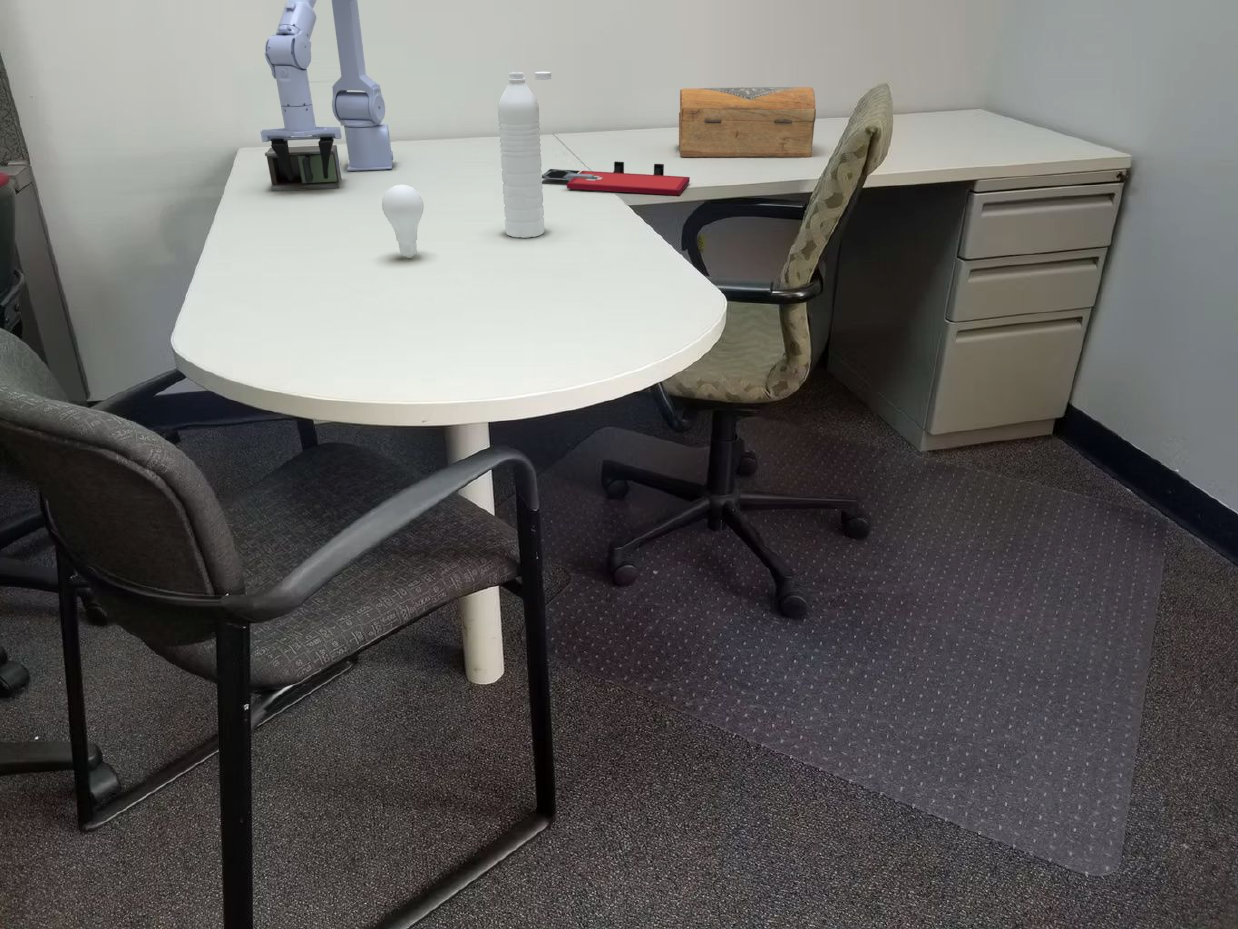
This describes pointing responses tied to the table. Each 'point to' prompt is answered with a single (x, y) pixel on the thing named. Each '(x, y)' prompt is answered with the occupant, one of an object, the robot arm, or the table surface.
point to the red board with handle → (622, 180)
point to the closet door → (315, 169)
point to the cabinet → (298, 169)
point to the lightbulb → (404, 216)
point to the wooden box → (747, 122)
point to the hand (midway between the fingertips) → (308, 178)
